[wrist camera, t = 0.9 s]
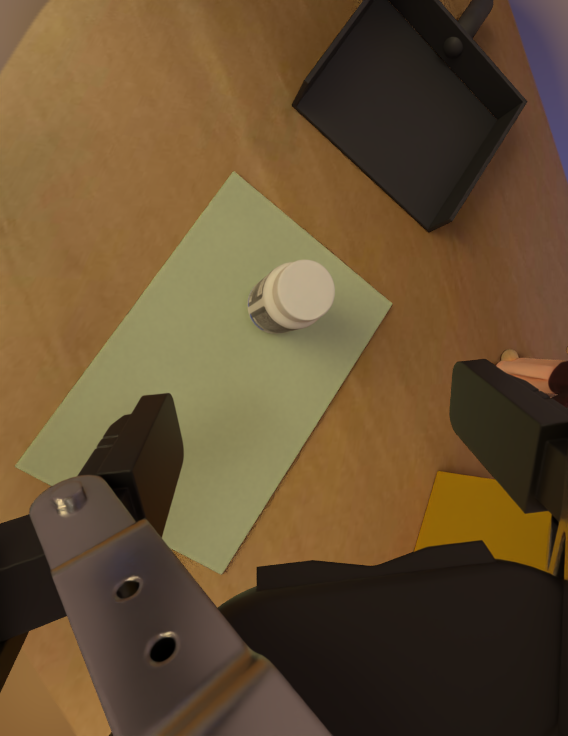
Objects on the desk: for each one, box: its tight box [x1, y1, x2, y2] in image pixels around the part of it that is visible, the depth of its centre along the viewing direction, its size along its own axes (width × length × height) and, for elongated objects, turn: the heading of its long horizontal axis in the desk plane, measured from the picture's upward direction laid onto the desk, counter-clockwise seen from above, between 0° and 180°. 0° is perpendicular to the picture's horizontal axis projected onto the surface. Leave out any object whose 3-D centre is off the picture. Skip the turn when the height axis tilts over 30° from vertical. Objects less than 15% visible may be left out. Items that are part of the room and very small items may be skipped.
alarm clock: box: [414, 471, 551, 571], centre depth 32 cm, size 15×8×18 cm, turn 161°
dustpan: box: [292, 0, 527, 232], centre depth 36 cm, size 20×17×3 cm
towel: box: [15, 171, 392, 575], centre depth 33 cm, size 28×18×1 cm, turn 146°
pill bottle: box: [247, 260, 335, 334], centre depth 30 cm, size 5×5×8 cm
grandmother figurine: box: [496, 347, 568, 408], centre depth 35 cm, size 8×4×13 cm, turn 153°
